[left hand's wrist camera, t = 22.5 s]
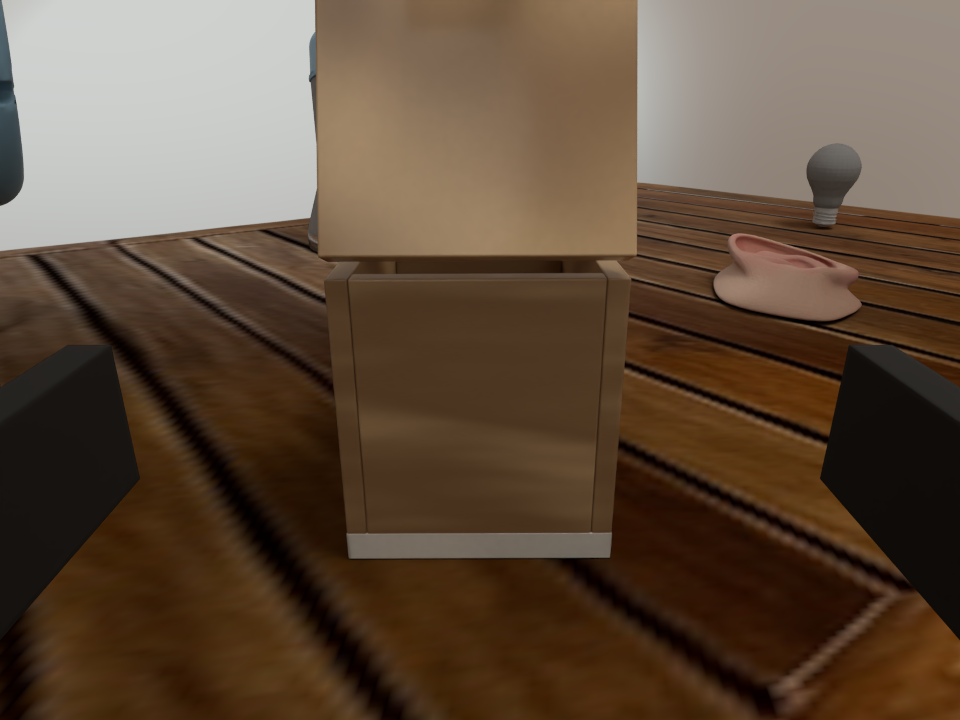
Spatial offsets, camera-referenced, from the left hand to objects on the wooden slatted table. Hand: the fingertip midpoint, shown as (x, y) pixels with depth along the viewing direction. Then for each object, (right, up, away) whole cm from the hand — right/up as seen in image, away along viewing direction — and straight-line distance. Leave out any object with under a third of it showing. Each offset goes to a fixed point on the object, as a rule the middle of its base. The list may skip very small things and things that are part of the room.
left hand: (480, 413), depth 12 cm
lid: (0, +11, +9) cm, 14 cm away
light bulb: (+44, +18, +74) cm, 87 cm away
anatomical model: (+25, +6, +44) cm, 51 cm away
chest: (0, -4, +19) cm, 19 cm away
